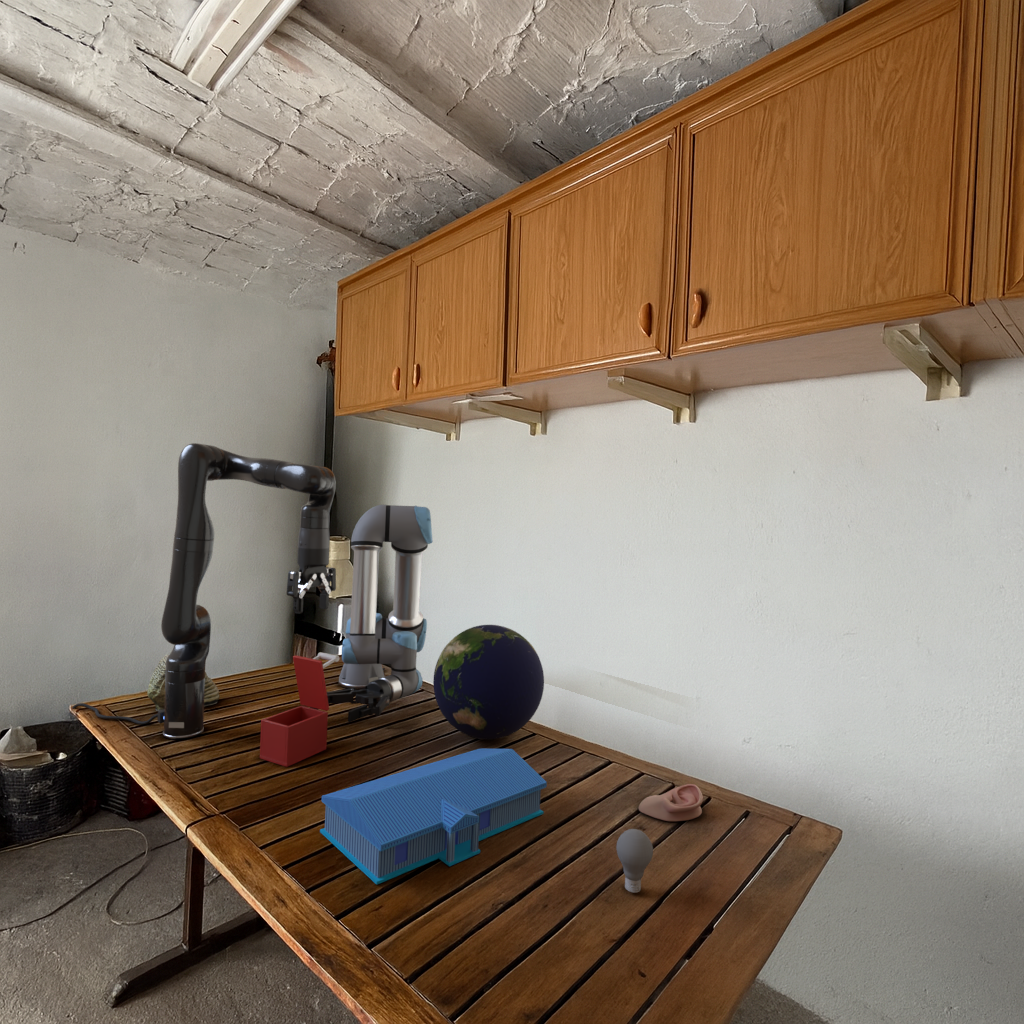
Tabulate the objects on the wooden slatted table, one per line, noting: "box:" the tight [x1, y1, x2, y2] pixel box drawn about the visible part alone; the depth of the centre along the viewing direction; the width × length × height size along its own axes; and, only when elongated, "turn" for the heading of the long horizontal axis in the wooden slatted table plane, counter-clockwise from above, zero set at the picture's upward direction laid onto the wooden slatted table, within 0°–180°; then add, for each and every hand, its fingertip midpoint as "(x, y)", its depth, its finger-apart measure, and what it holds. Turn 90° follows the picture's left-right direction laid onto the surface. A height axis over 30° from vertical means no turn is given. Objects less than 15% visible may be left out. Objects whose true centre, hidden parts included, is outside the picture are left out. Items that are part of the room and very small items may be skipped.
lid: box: [292, 651, 340, 712], centre depth 162 cm, size 13×9×8 cm
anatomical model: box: [638, 783, 704, 822], centre depth 135 cm, size 13×4×12 cm
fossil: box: [147, 654, 221, 711], centre depth 185 cm, size 9×18×15 cm, turn 132°
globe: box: [432, 624, 545, 740], centre depth 172 cm, size 30×30×30 cm
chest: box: [259, 705, 329, 768], centre depth 155 cm, size 13×9×9 cm
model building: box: [319, 747, 548, 885], centre depth 124 cm, size 39×24×10 cm, turn 132°
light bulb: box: [615, 828, 654, 894], centre depth 106 cm, size 6×6×10 cm
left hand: (311, 610), depth 158 cm, fingers open, 8 cm apart
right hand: (329, 711), depth 166 cm, fingers open, 13 cm apart
